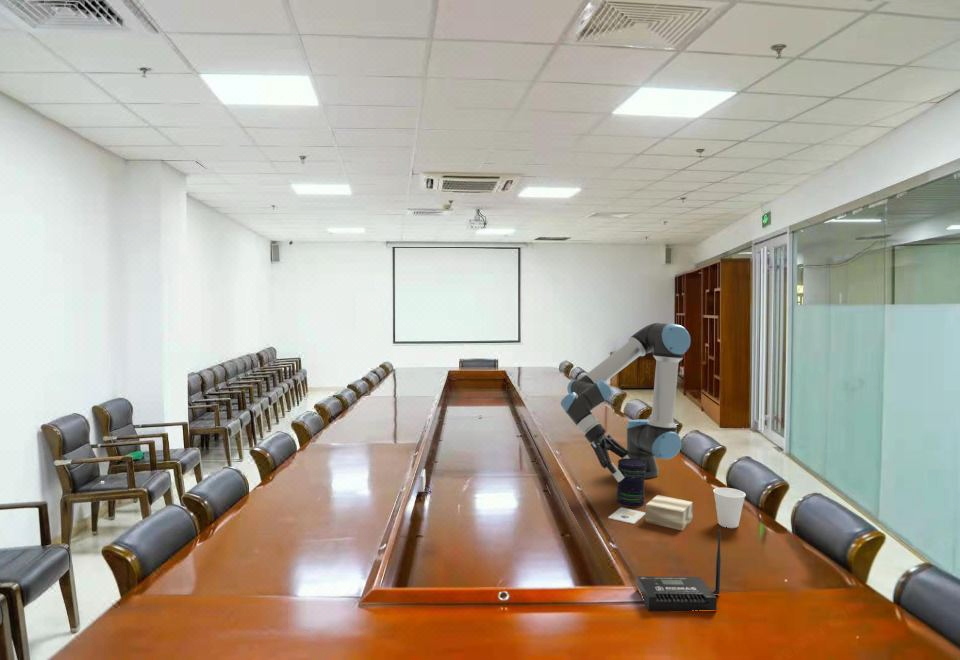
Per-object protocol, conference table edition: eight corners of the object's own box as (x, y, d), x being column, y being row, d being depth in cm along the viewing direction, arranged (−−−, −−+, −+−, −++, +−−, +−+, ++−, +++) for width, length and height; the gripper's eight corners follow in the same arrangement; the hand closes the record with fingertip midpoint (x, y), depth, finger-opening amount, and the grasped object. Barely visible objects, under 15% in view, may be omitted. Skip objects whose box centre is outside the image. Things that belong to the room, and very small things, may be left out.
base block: (656, 511, 205) (657, 494, 205) (692, 519, 198) (693, 501, 198) (645, 522, 195) (645, 504, 195) (682, 530, 188) (682, 512, 188)
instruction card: (621, 508, 208) (621, 507, 208) (646, 513, 203) (646, 512, 203) (608, 518, 199) (608, 517, 199) (633, 524, 193) (633, 522, 193)
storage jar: (614, 497, 220) (615, 458, 219) (640, 498, 220) (641, 458, 219) (619, 506, 210) (620, 465, 209) (647, 507, 210) (648, 466, 209)
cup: (748, 532, 188) (749, 498, 187) (715, 529, 190) (716, 495, 189) (740, 520, 198) (741, 488, 197) (709, 518, 200) (710, 486, 199)
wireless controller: (650, 617, 137) (652, 545, 136) (634, 587, 151) (636, 522, 150) (736, 617, 137) (738, 545, 136) (712, 588, 151) (714, 523, 150)
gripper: (598, 429, 234) (633, 473, 226) (570, 440, 213) (608, 489, 205) (611, 417, 230) (647, 462, 223) (584, 428, 210) (623, 477, 202)
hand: (628, 475), depth 214 cm, fingers open, 13 cm apart
